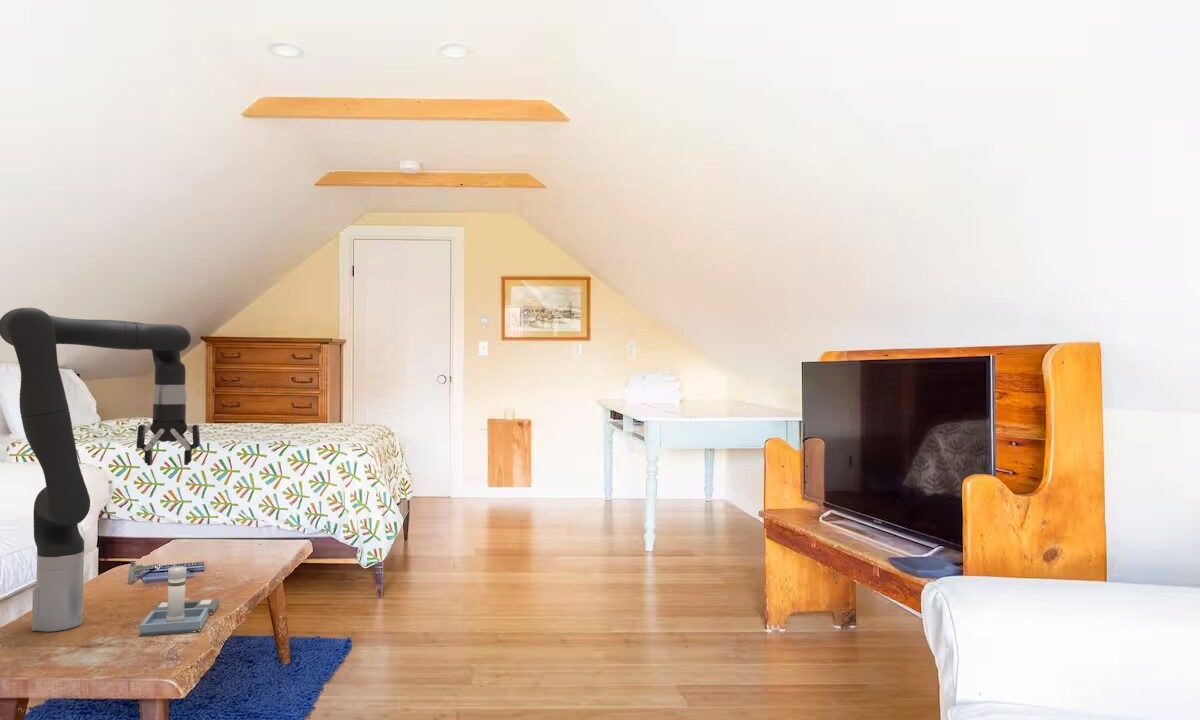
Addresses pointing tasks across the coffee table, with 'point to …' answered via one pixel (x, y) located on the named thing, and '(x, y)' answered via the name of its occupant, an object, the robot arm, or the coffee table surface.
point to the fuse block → (192, 605)
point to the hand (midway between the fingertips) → (168, 465)
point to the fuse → (176, 594)
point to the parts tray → (158, 625)
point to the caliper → (137, 571)
